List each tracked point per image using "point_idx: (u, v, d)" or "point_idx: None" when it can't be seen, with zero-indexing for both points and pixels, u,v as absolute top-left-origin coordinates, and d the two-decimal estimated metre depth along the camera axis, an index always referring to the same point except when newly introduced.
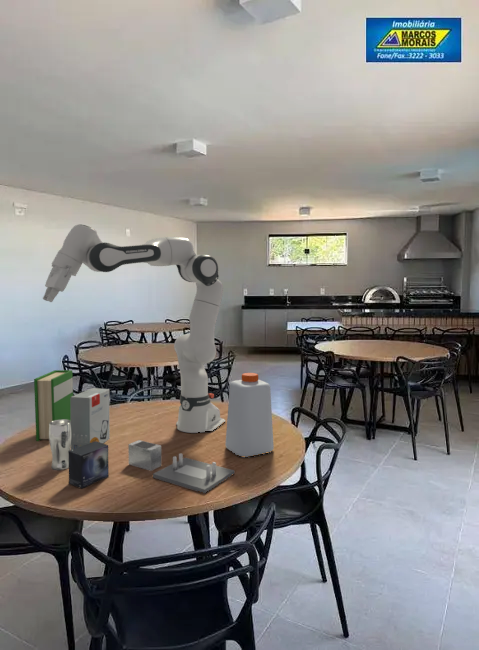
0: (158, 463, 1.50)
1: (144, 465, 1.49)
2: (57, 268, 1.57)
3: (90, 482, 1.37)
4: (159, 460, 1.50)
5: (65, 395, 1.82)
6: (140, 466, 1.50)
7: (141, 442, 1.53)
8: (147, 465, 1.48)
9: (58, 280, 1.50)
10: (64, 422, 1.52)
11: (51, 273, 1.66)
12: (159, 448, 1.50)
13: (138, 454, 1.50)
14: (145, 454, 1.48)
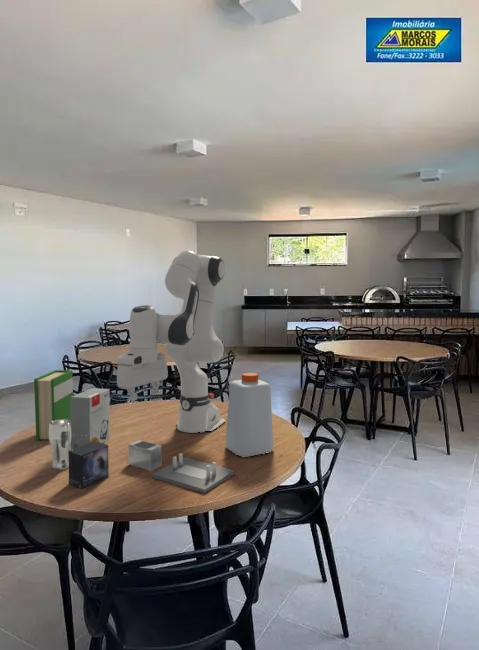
0: (158, 463, 1.50)
1: (144, 465, 1.49)
2: (153, 362, 1.49)
3: (90, 482, 1.37)
4: (159, 460, 1.50)
5: (65, 395, 1.82)
6: (140, 466, 1.50)
7: (141, 442, 1.53)
8: (147, 465, 1.48)
9: None
10: (64, 422, 1.52)
11: (130, 372, 1.41)
12: (159, 448, 1.50)
13: (138, 454, 1.50)
14: (145, 454, 1.48)
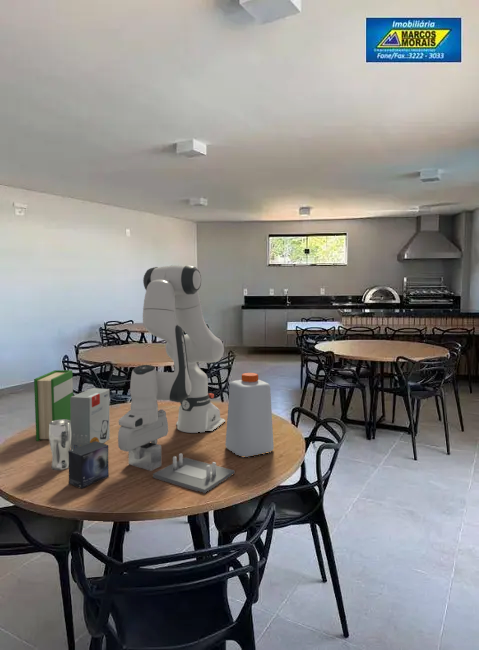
0: (158, 463, 1.50)
1: (144, 464, 1.49)
2: (154, 421, 1.51)
3: (90, 482, 1.37)
4: (159, 460, 1.50)
5: (65, 395, 1.82)
6: (140, 465, 1.50)
7: None
8: (147, 464, 1.48)
9: None
10: (64, 422, 1.52)
11: (131, 434, 1.43)
12: (159, 448, 1.50)
13: None
14: (145, 454, 1.48)
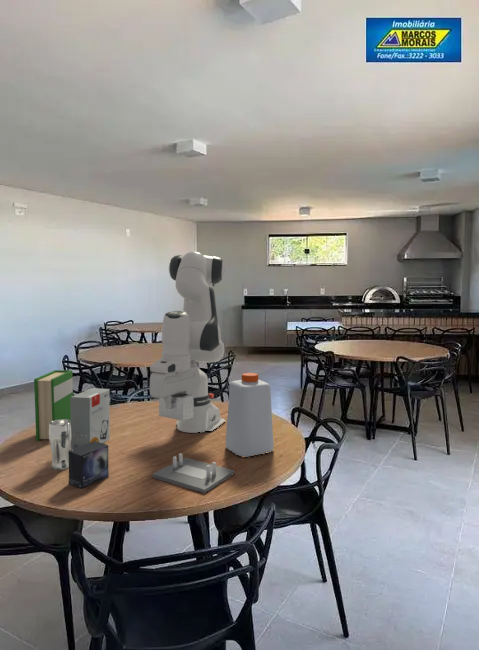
0: (190, 413, 1.43)
1: (176, 414, 1.41)
2: (186, 370, 1.44)
3: (90, 482, 1.37)
4: (191, 410, 1.43)
5: (65, 395, 1.82)
6: (171, 416, 1.42)
7: None
8: (179, 414, 1.40)
9: None
10: (64, 422, 1.52)
11: (164, 380, 1.36)
12: (191, 397, 1.43)
13: None
14: (177, 403, 1.41)
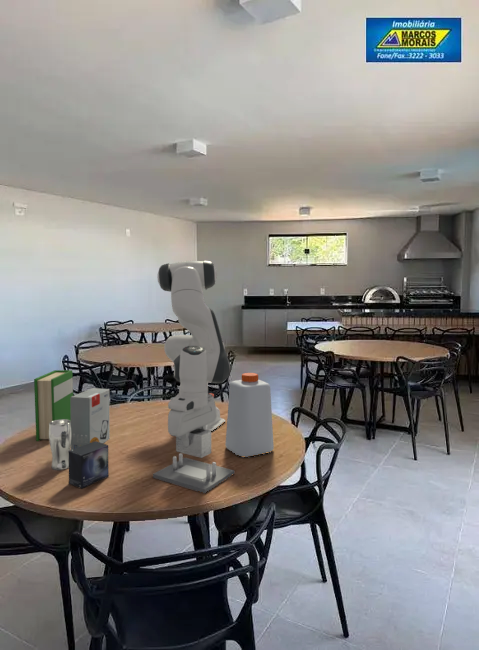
0: (208, 450, 1.41)
1: (194, 451, 1.39)
2: (203, 406, 1.42)
3: (90, 482, 1.37)
4: (209, 446, 1.41)
5: (65, 395, 1.82)
6: (189, 452, 1.41)
7: None
8: (197, 451, 1.39)
9: None
10: (64, 422, 1.52)
11: (182, 418, 1.34)
12: (209, 434, 1.41)
13: None
14: (195, 440, 1.39)
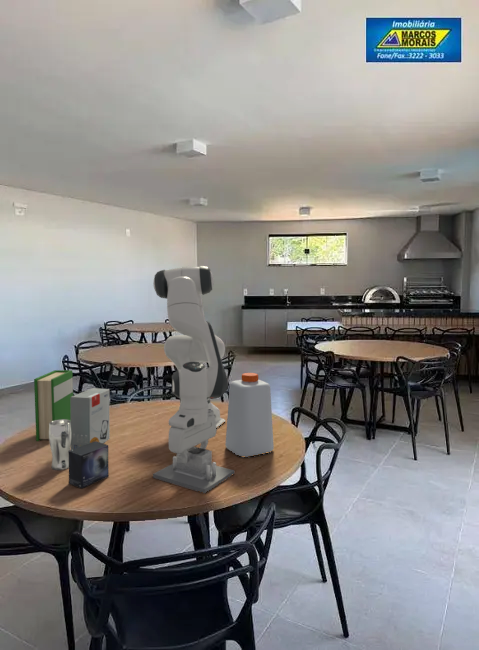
0: None
1: (194, 471, 1.40)
2: None
3: (90, 482, 1.37)
4: None
5: (65, 395, 1.82)
6: (189, 472, 1.41)
7: None
8: (197, 471, 1.40)
9: None
10: (64, 422, 1.52)
11: (183, 435, 1.35)
12: (210, 453, 1.42)
13: None
14: (195, 460, 1.40)
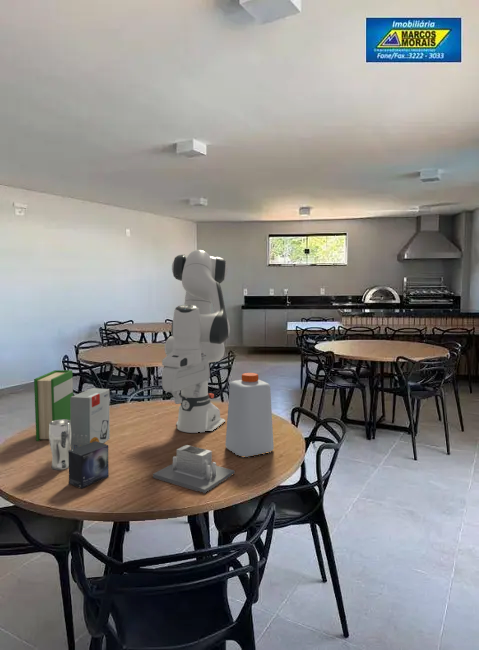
0: None
1: (194, 471, 1.40)
2: (197, 363, 1.44)
3: (90, 482, 1.37)
4: None
5: (65, 395, 1.82)
6: (189, 472, 1.41)
7: (189, 447, 1.45)
8: (197, 471, 1.40)
9: None
10: (64, 422, 1.52)
11: (176, 375, 1.36)
12: (210, 453, 1.42)
13: (187, 460, 1.41)
14: (195, 460, 1.40)
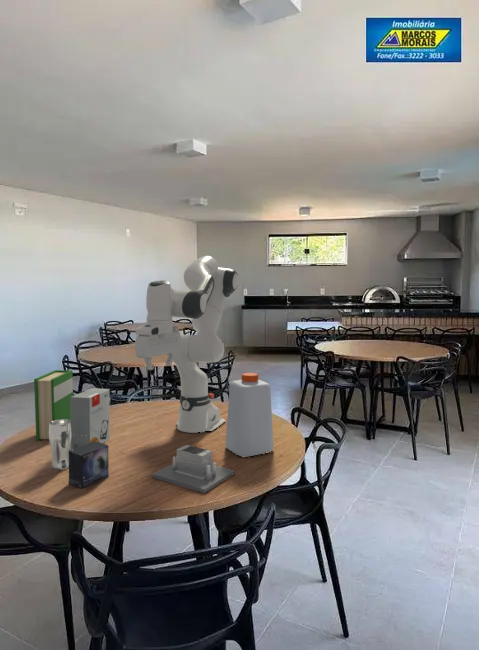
0: None
1: (194, 471, 1.40)
2: (168, 334, 1.58)
3: (90, 482, 1.37)
4: None
5: (65, 395, 1.82)
6: (189, 472, 1.41)
7: (189, 447, 1.45)
8: (197, 471, 1.40)
9: None
10: (64, 422, 1.52)
11: (148, 342, 1.50)
12: (210, 453, 1.42)
13: (187, 460, 1.41)
14: (195, 460, 1.40)
